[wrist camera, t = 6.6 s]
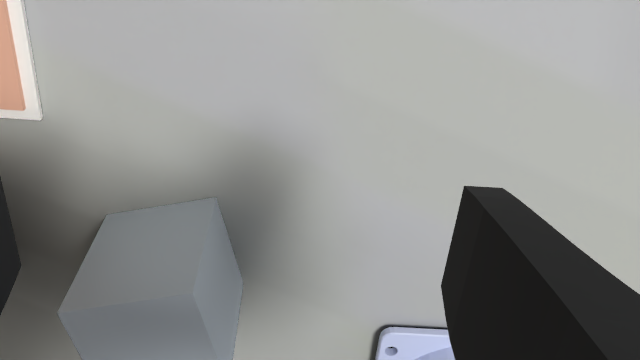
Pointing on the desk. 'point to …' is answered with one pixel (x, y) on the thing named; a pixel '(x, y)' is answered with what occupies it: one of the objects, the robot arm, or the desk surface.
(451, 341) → the robot arm
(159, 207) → the slate grey block
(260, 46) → the desk surface
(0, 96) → the terracotta swatch tile
